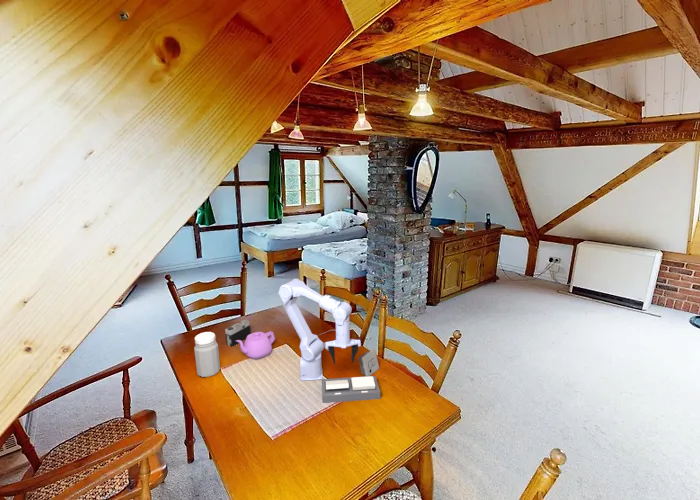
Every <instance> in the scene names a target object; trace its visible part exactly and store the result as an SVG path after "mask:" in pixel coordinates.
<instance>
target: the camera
mask: <svg viewBox="0 0 700 500" xmlns="http://www.w3.org/2000/svg"><path fill="white" fill-rule="evenodd" d="M250 324H251V323H250V321H249V320H247V319H243V320H240V321H239V322H236V323H235V324H233V325H231V326H229V327H227V328H225V329H224V331H225V343H226V344H225V345H226V346H227V345H229V346H231V347H232V346H233V347H235V346H237V345H238V343H239V342H237V341H236V340H241V341H242V342H244V341H245V339H246V337H247V336H248V335H249V334H252V333H251V332H252V331H251V325H250ZM243 340H244V341H243ZM236 344H237V345H236ZM234 345H235V346H234ZM231 347H230V348H231ZM233 347H232V348H233Z"/></svg>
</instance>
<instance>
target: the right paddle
mask: <svg viewBox="0 0 700 500" xmlns="http://www.w3.org/2000/svg"><path fill="white" fill-rule="evenodd" d="M373 376H374V375H371V376H369V377H366V376H353V377H354V378H351V382H352V388H353V390H366V389H375V383H374V379H373Z"/></svg>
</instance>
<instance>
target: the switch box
mask: <svg viewBox="0 0 700 500" xmlns="http://www.w3.org/2000/svg"><path fill="white" fill-rule="evenodd" d="M372 376H373V379H374V383H375V389H366V390H353V388H352V382H351V378H354V377H355V376H353V377H340V378H339V377H337V378H323V379H321V398H322V401H321V402H322V404H323V403H324V404H325V403H326V404H328V403H329V404H330V403H340V402H341V403H342V402H354V401H355V402H356V401H368V400H369V401H370V400H381V389H380V386H379V383H378V380H377V376H376V375H372ZM365 377H369V376H366V375H365ZM336 380H348V383H349V388H340V389H326V381H336Z"/></svg>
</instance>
